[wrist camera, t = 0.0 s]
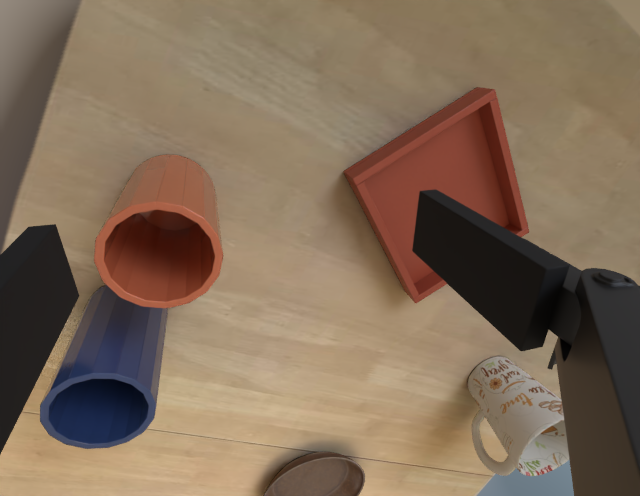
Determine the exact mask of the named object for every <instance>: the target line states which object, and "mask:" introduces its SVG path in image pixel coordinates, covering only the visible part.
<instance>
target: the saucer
mask: <svg viewBox="0 0 640 496" xmlns="http://www.w3.org/2000/svg"><path fill="white" fill-rule="evenodd" d="M364 482H365V474H364V471H363V469H362V468H361V466H360V465H359V464H357V463H356V462H355V461H353V460H352V459H350V458H348V457H346V456H343V455H340V454H337V453H332V452H317V453H312V454H308V455H305V456H302V457H300V458H298V459H296V460H294V461H292V462H291V463H289V464H288V465H286V466H285V467H284V468H283V469H282V470H281V471H280V472H279V473H278V474H277V475H276V476H275V478H274V479H273V480H272V482H271V483H270V485H269V486H268V488H267V490H266V492H265V495H264V496H358V495H359V494H360V492H361V491H362V489H363V486H364Z"/></svg>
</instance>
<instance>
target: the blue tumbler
mask: <svg viewBox="0 0 640 496" xmlns="http://www.w3.org/2000/svg"><path fill="white" fill-rule="evenodd" d="M167 314H168V313H167V308H154V307H143V306H140V305H137V304H135V303H132V302H130V301H127V300H125V299H123V298H121V297H119V296H118V295H117V294H116V293H115V292H114V291H113V290H112V289H110V288H109V287H108V286H107V285H105V286H103V287H101V288H99V289H98V290H97V291H96V292H95V293H93V295H92V296H91V297H90V299H89V301H88V303H87V304H86V306H85V308H84V310H83V312H82V314H81V317H80V319H79V321H78V323H77V325H76V328H75V330H74V332H73V334H72V336H71V339H70V341H69V343H68V345H67V347H66V350H65V352H64V354H63V356H62V359H61V361H60V363H59V365H58V367H57V370H56V372H55V374H54V376H53V378H52V381H51V383H50V385H49V387H48V389H47V392H46V394H45V396H44V398H43V400H42V403H41V405H40V422H41V423H42V425H43V426H44V428H45V429H46V431H47V432H48V434H49V435H50V436H52V437H54V438H55V439H57V440H59V441H60V442H62V443H64V444H66V445H71V446H76V447H80V448H85V449H92V448H109V447H112V446H116V445H119V444H122V443H126V442H128V441H130V440H132V439H133V438H135V437H136V436H138V435H140V434H141V433H143V432H144V431H145V430H146V428H147V427H148V426H149V425H150V423H151V422H152V421H153V419H154V416H155V410H156V403H157V395H158V387H159V379H160V371H161V363H162V355H163V346H164V338H165V330H166V322H167Z"/></svg>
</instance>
